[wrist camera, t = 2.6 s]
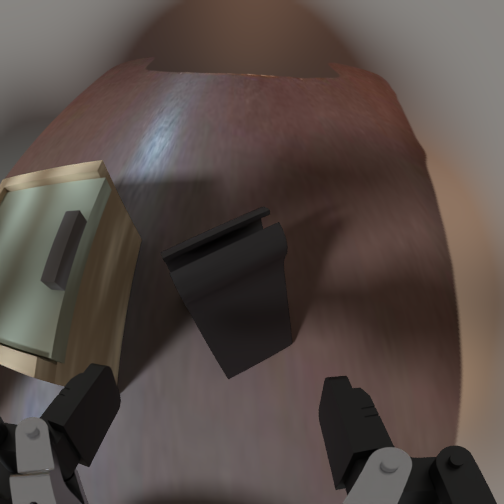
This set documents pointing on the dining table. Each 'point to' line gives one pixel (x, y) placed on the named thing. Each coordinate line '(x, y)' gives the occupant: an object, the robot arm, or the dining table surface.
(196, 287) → the phone stand
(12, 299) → the bread box
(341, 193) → the dining table surface
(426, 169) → the dining table surface
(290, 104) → the dining table surface
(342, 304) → the dining table surface
